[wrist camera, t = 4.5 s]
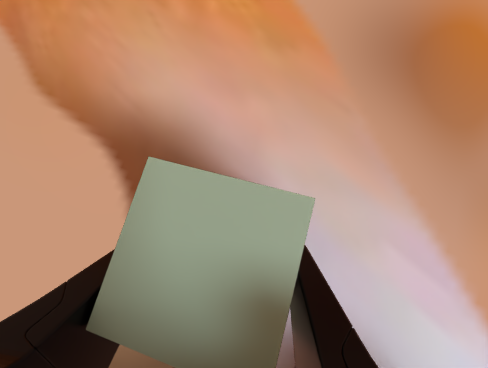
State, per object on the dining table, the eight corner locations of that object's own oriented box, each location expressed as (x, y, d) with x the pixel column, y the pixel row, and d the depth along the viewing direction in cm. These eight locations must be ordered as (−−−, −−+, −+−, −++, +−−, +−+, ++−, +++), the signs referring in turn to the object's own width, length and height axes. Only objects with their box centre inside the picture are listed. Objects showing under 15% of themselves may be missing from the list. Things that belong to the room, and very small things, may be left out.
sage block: (273, 298, 15) (267, 406, 6) (200, 274, 16) (85, 329, 7) (292, 221, 16) (315, 198, 6) (221, 201, 17) (148, 156, 7)
